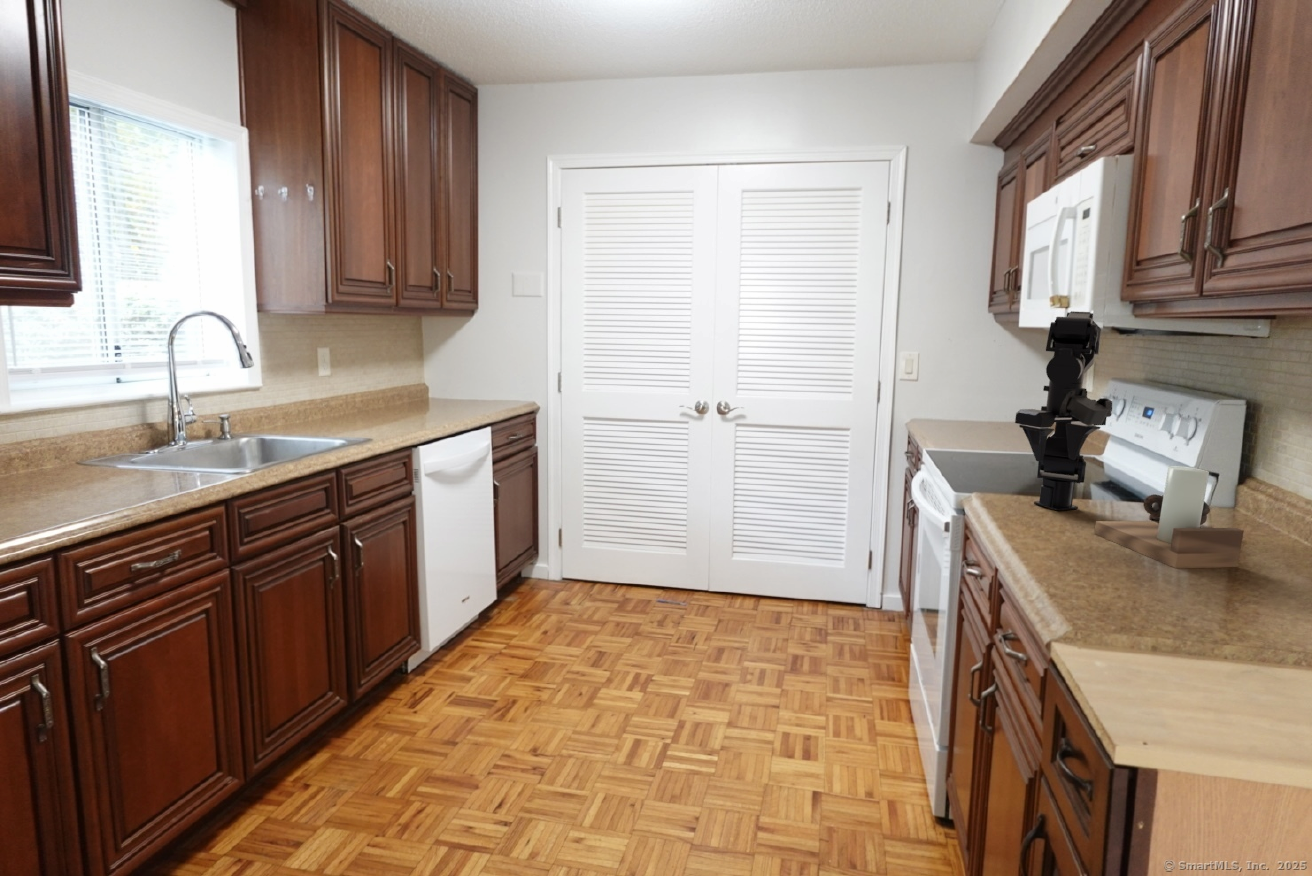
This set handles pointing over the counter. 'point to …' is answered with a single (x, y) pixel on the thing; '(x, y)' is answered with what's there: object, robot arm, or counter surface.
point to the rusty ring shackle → (1156, 509)
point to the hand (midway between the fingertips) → (1055, 460)
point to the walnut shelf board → (1157, 547)
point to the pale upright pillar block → (1182, 500)
